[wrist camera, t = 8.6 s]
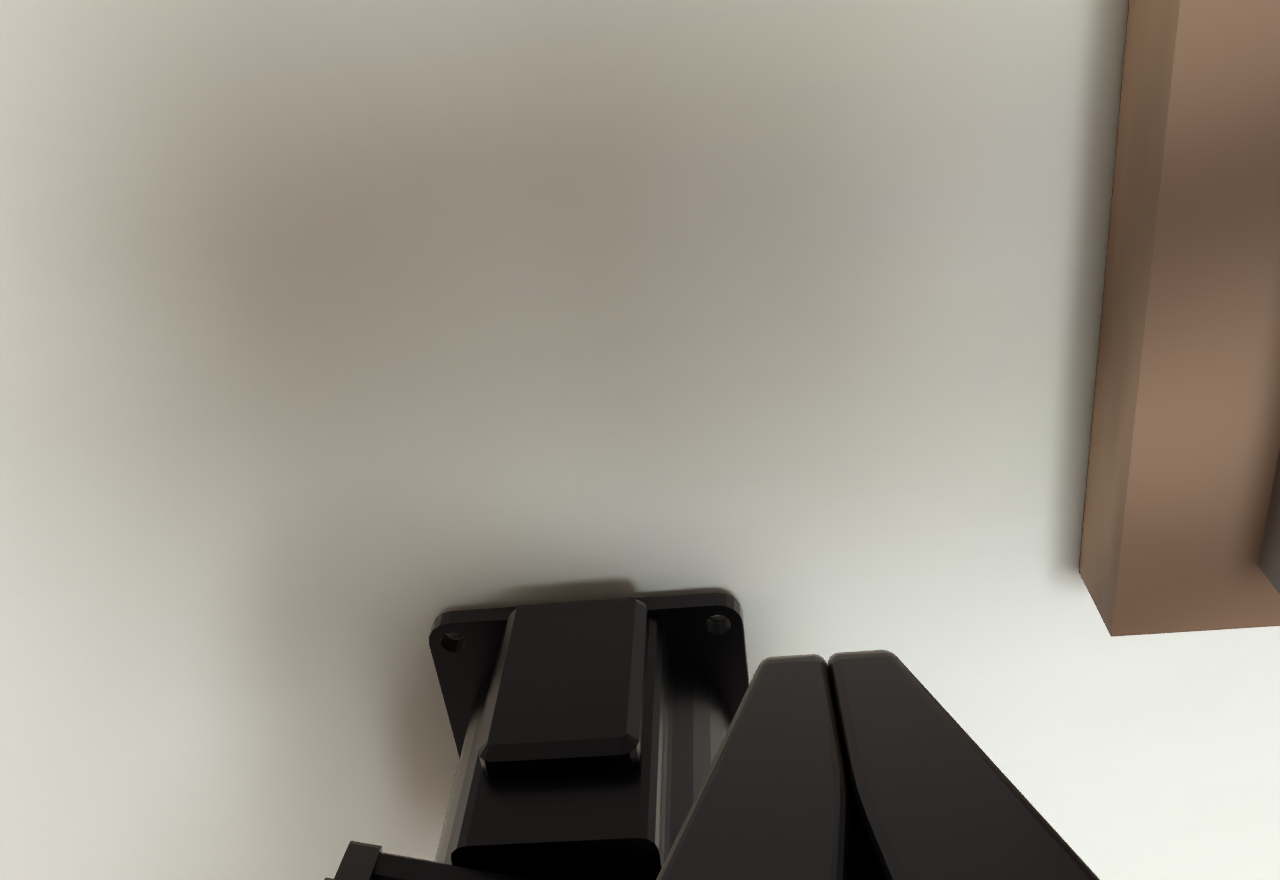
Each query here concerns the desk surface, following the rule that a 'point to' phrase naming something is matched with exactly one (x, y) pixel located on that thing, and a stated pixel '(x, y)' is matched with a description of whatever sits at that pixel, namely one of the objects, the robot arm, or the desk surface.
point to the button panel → (1190, 329)
